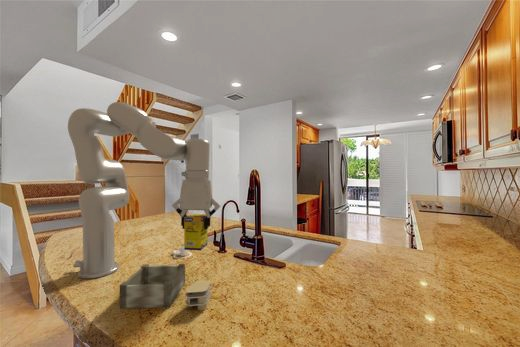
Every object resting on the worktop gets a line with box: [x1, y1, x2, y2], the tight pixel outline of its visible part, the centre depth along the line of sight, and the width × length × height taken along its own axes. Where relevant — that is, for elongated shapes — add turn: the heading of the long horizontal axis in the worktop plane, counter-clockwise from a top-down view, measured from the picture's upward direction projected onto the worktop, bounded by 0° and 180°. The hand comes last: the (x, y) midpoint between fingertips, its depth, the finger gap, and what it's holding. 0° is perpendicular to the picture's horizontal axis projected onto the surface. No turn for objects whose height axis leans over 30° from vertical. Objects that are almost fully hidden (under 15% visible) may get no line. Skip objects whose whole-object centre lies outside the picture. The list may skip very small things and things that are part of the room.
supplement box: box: [183, 213, 208, 251], centre depth 77 cm, size 6×6×11 cm
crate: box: [119, 263, 186, 309], centre depth 69 cm, size 14×14×6 cm
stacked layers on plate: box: [185, 279, 212, 311], centre depth 63 cm, size 10×9×6 cm
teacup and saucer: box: [172, 245, 193, 259], centre depth 101 cm, size 9×8×4 cm
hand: (195, 227), depth 77 cm, fingers closed on supplement box, 6 cm apart
